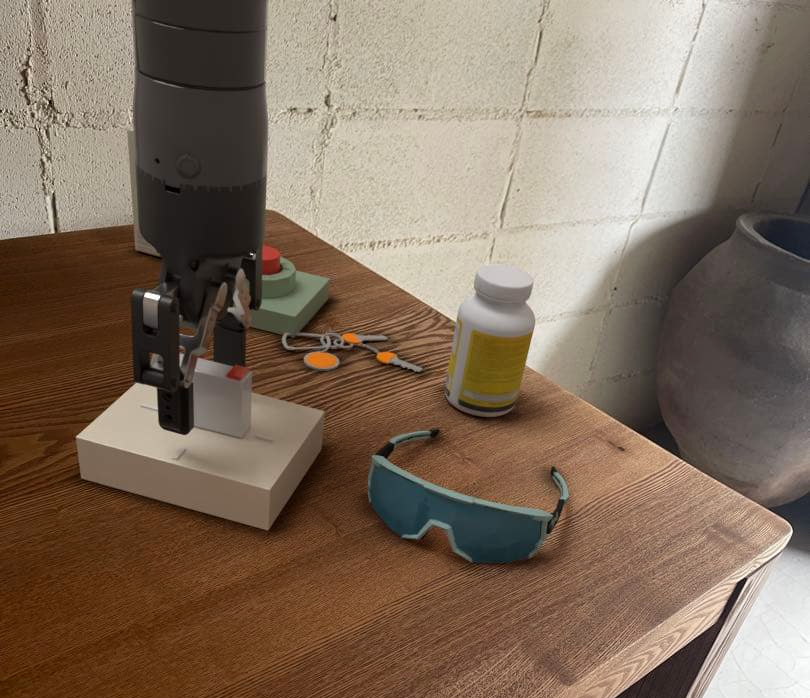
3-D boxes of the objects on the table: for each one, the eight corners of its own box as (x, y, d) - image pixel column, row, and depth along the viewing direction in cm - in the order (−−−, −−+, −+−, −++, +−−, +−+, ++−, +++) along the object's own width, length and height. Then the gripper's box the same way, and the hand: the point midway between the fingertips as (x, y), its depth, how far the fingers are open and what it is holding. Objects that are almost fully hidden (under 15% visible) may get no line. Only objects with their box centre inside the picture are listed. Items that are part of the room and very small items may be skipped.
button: (235, 272, 82) (236, 254, 81) (250, 259, 85) (251, 242, 84) (271, 280, 81) (272, 262, 80) (285, 267, 84) (286, 250, 83)
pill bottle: (526, 419, 75) (558, 292, 68) (456, 422, 73) (482, 292, 66) (499, 381, 80) (526, 259, 72) (433, 383, 78) (455, 258, 70)
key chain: (282, 369, 76) (283, 360, 76) (281, 331, 82) (281, 323, 81) (423, 377, 79) (425, 369, 78) (412, 339, 84) (414, 331, 84)
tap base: (80, 478, 60) (75, 434, 58) (156, 405, 69) (153, 364, 66) (268, 531, 59) (270, 487, 56) (321, 449, 67) (325, 409, 65)
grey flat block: (162, 418, 61) (159, 358, 58) (173, 406, 62) (171, 347, 59) (241, 438, 60) (242, 379, 57) (251, 426, 62) (252, 367, 59)
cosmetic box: (170, 261, 90) (165, 138, 83) (132, 251, 91) (124, 128, 83) (200, 243, 95) (198, 125, 87) (164, 233, 96) (159, 116, 88)
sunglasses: (337, 522, 60) (348, 459, 57) (410, 447, 72) (421, 392, 70) (530, 591, 57) (550, 528, 55) (571, 500, 69) (589, 445, 67)
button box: (185, 311, 82) (184, 270, 80) (229, 274, 90) (229, 236, 87) (294, 338, 81) (296, 298, 78) (328, 298, 88) (331, 261, 86)
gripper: (196, 119, 56) (199, 345, 66) (75, 176, 45) (101, 437, 55) (305, 144, 55) (291, 370, 65) (208, 209, 44) (209, 467, 54)
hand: (204, 400), depth 60 cm, fingers open, 8 cm apart
